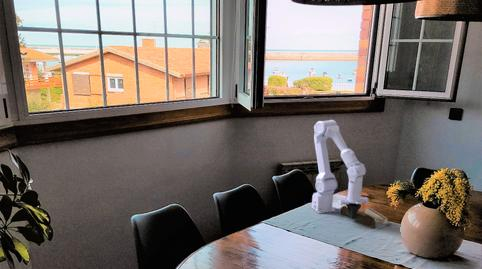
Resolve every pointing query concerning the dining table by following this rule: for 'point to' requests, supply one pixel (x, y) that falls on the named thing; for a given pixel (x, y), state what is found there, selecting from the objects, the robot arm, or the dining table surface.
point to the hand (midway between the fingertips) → (351, 218)
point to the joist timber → (376, 216)
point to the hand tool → (360, 217)
